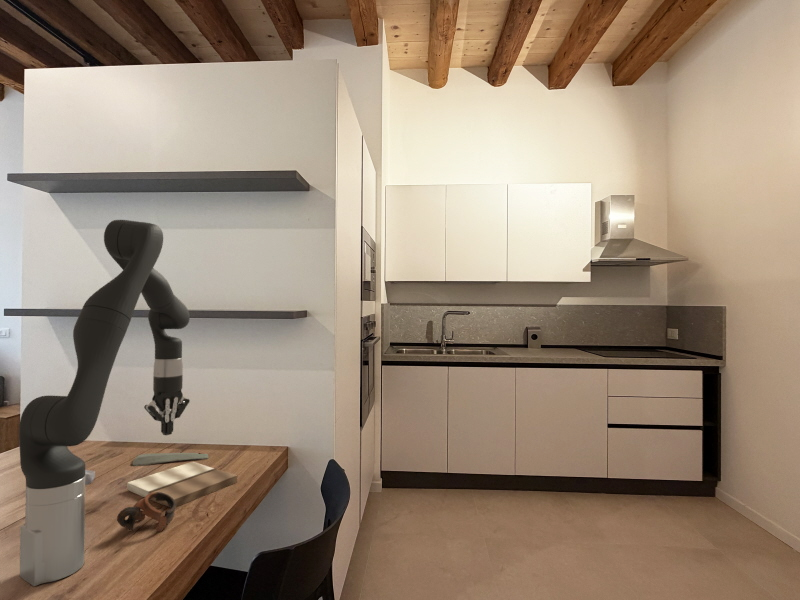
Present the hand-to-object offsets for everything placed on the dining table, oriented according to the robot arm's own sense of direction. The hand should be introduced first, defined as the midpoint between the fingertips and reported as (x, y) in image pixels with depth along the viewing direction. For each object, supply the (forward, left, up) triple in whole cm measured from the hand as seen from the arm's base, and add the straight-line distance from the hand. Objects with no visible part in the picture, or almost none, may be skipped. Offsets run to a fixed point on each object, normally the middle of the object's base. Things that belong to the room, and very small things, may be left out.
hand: (167, 434), depth 133 cm
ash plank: (+1, -2, -13) cm, 14 cm away
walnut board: (+1, -12, -14) cm, 18 cm away
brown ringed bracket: (-19, -21, -14) cm, 32 cm away
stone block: (-14, +23, -14) cm, 30 cm away
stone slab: (+13, +17, -14) cm, 26 cm away
